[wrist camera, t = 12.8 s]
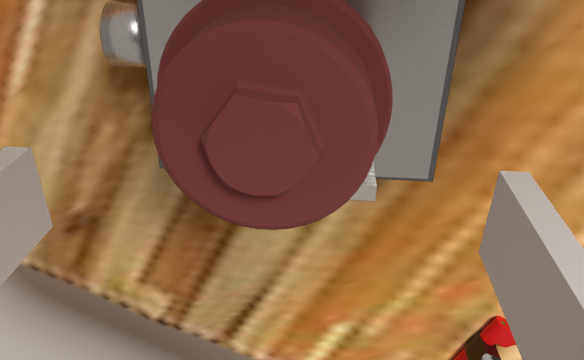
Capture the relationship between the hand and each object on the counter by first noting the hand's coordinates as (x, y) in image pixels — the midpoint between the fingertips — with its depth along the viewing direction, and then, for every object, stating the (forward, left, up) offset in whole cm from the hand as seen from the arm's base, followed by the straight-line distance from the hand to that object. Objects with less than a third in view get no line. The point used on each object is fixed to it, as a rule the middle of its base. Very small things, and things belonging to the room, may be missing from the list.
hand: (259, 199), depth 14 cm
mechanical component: (0, -1, -16) cm, 16 cm away
